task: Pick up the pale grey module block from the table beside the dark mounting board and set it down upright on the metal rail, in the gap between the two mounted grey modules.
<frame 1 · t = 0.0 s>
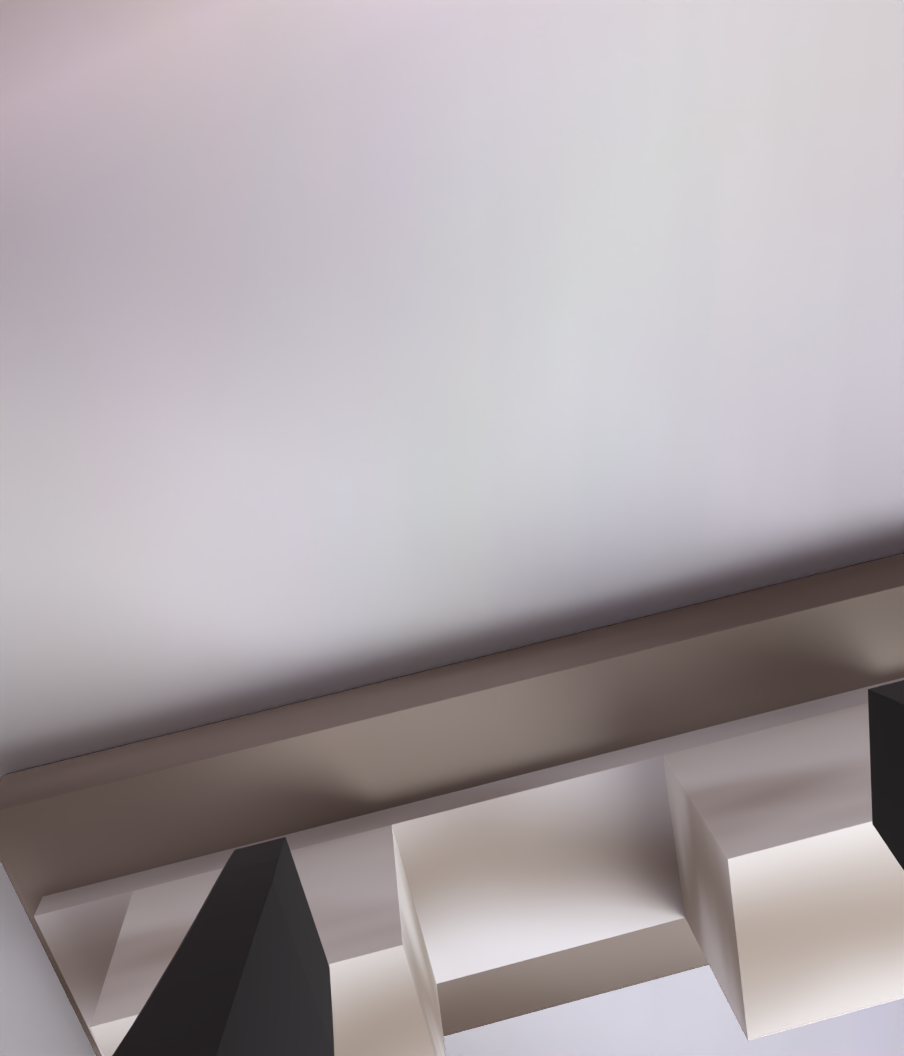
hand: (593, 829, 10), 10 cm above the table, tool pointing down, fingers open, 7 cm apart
rail board: (527, 817, 22), on the table
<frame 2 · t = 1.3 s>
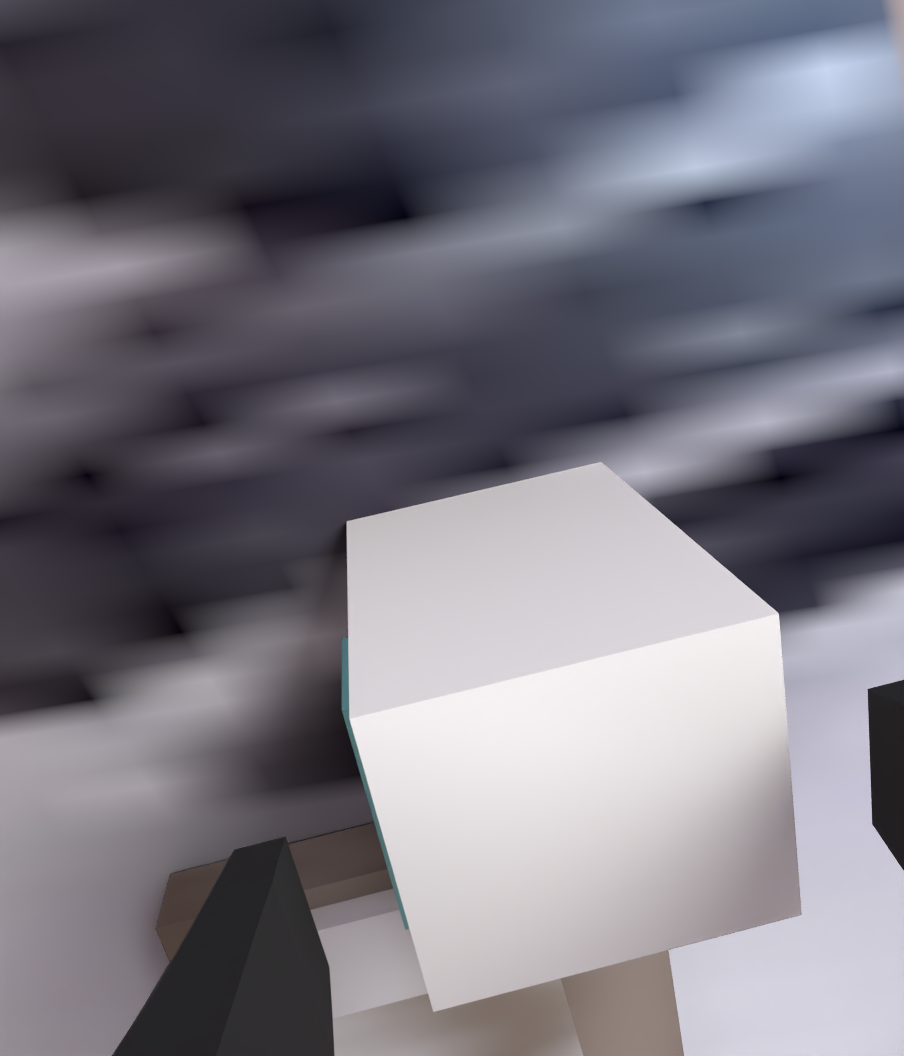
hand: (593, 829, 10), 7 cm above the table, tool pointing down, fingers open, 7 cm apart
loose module: (496, 596, 17), on the table
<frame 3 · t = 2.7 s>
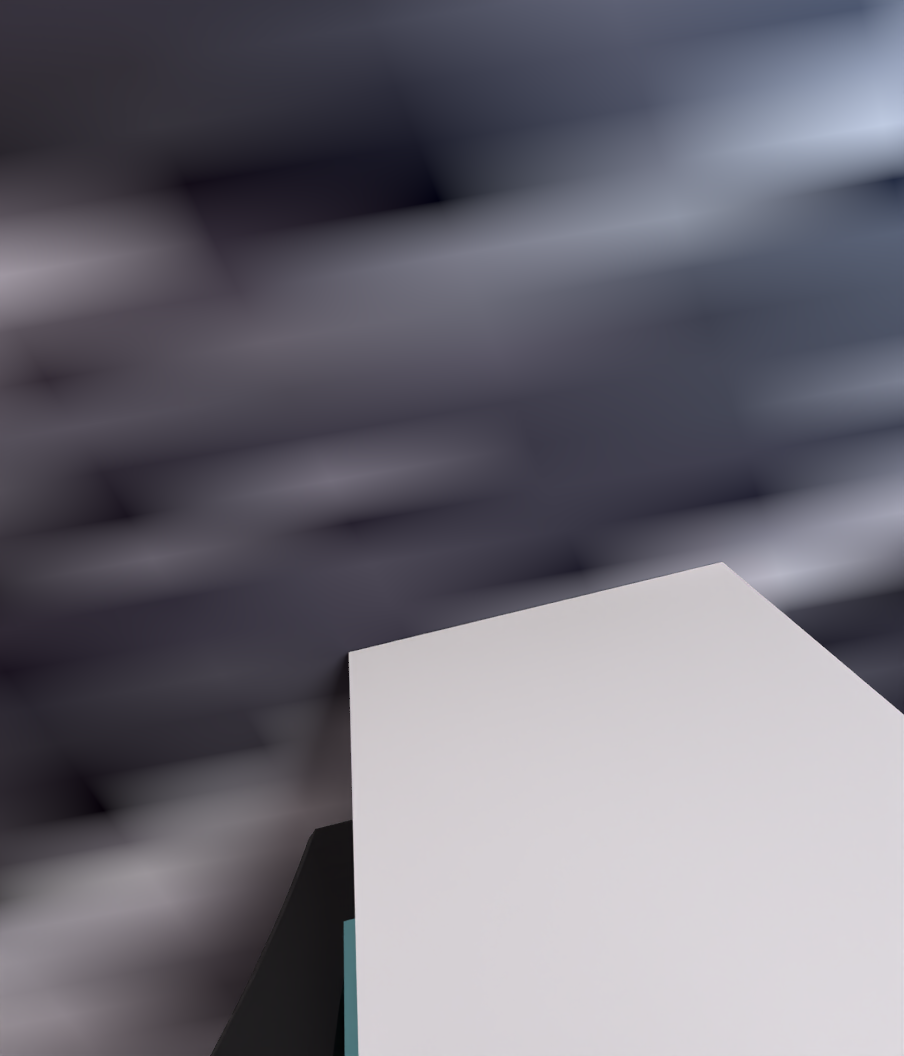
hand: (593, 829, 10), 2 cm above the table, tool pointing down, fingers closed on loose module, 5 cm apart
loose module: (564, 750, 12), on the table, touching gripper
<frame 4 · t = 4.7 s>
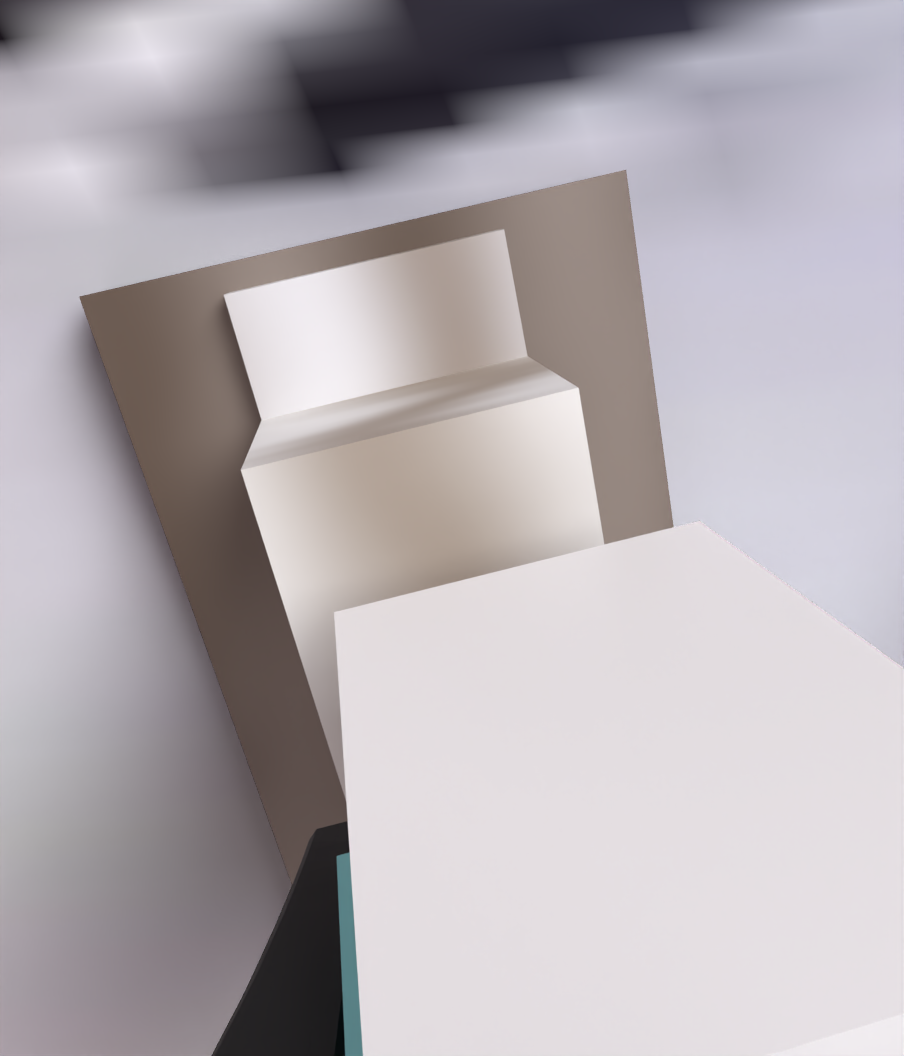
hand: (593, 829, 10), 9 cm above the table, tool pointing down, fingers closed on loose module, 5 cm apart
rail board: (479, 741, 21), on the table
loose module: (546, 709, 12), point 7 cm above the table, touching gripper
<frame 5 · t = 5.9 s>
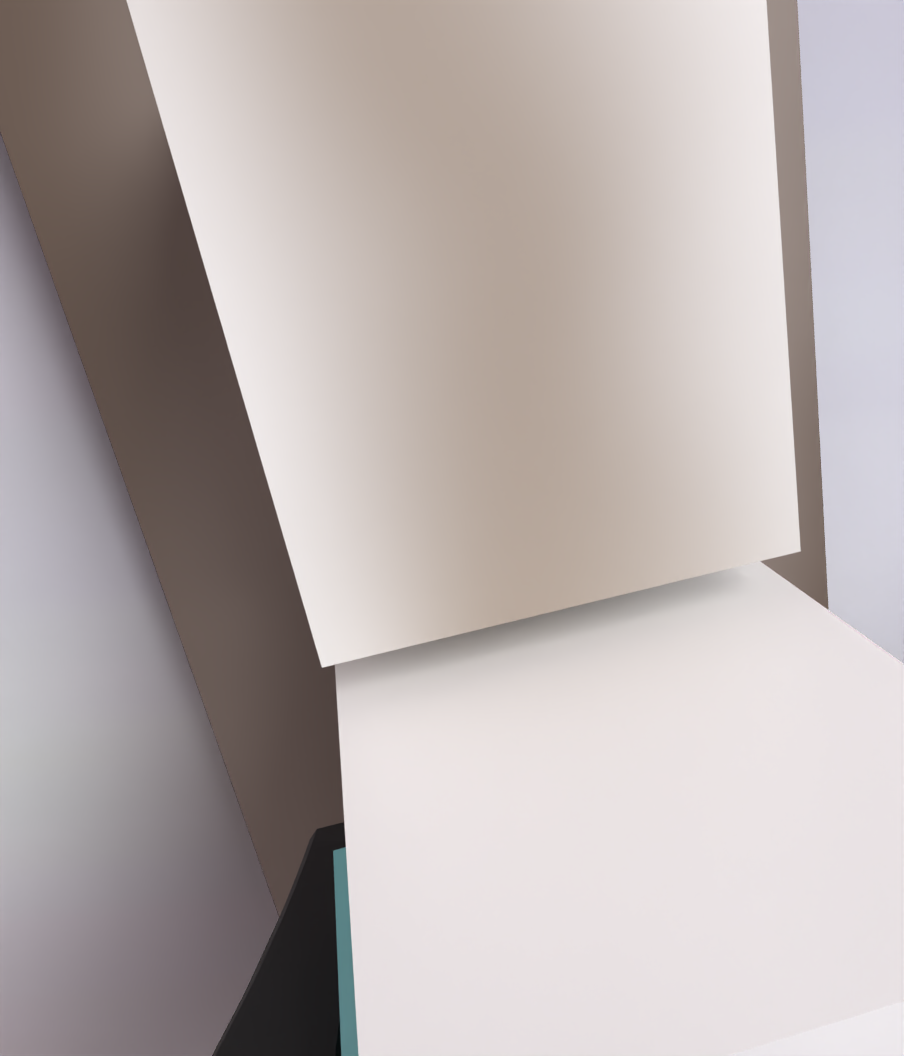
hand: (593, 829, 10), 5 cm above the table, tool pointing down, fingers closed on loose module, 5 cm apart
rail board: (513, 640, 15), on the table
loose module: (544, 705, 12), point 3 cm above the table, touching gripper
when the fingers open (5 cm above the table, at t = 6.8 s): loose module stays where it is, resting on rail board.
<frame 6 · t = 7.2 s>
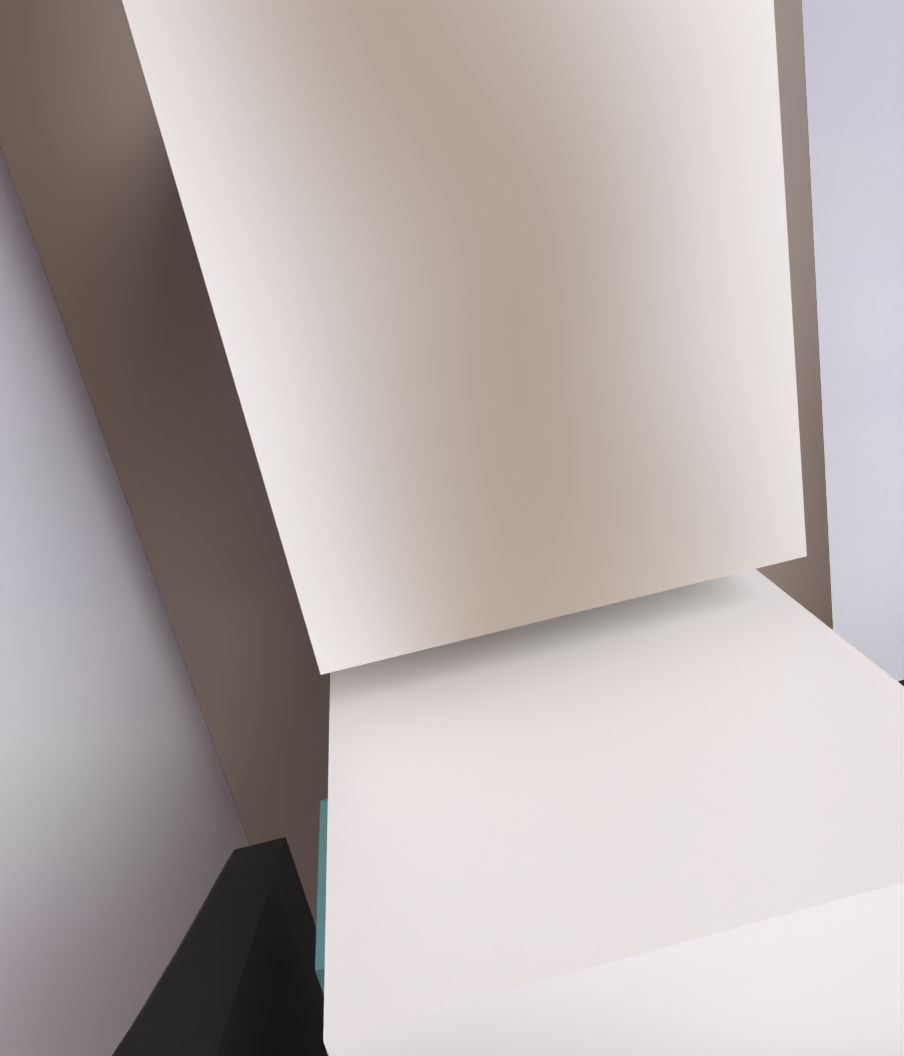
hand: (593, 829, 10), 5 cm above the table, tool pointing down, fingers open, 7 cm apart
rail board: (513, 644, 15), on the table
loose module: (533, 683, 13), point 2 cm above the table, touching rail board
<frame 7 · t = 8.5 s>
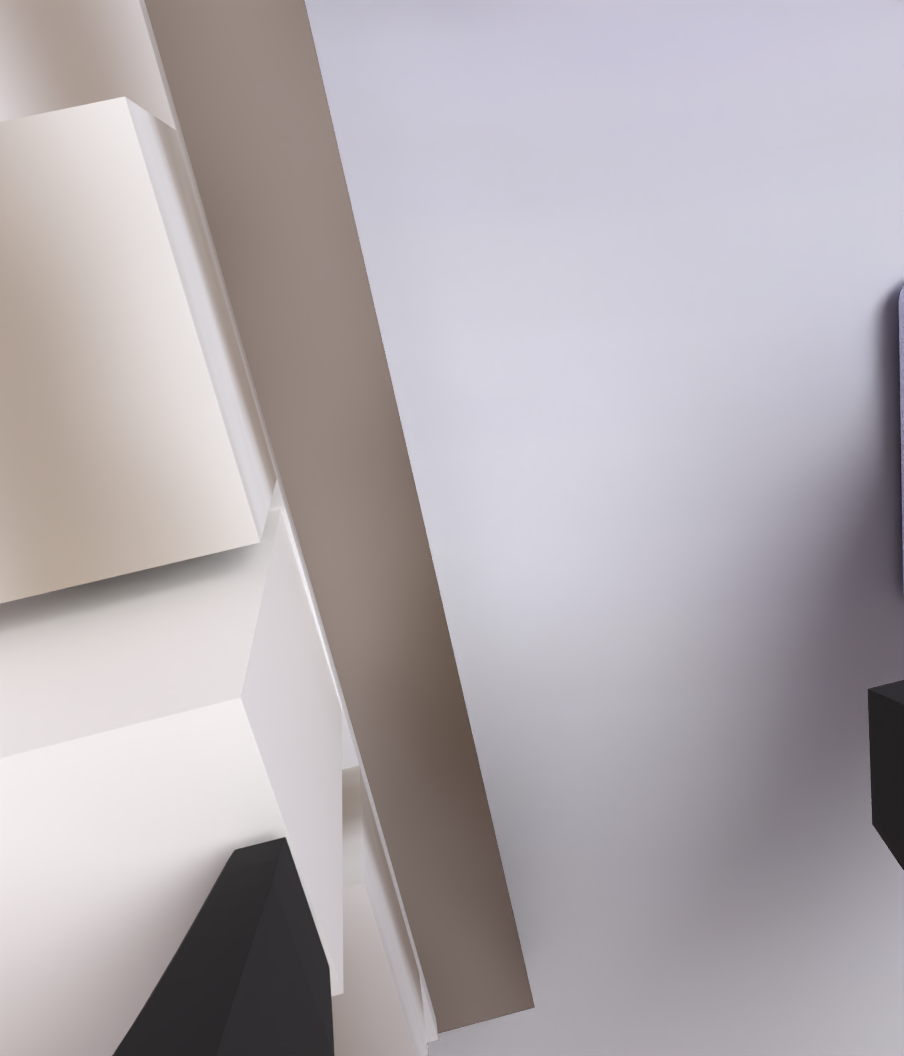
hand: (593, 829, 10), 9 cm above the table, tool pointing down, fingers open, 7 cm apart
rail board: (212, 616, 19), on the table
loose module: (188, 643, 16), point 2 cm above the table, touching rail board
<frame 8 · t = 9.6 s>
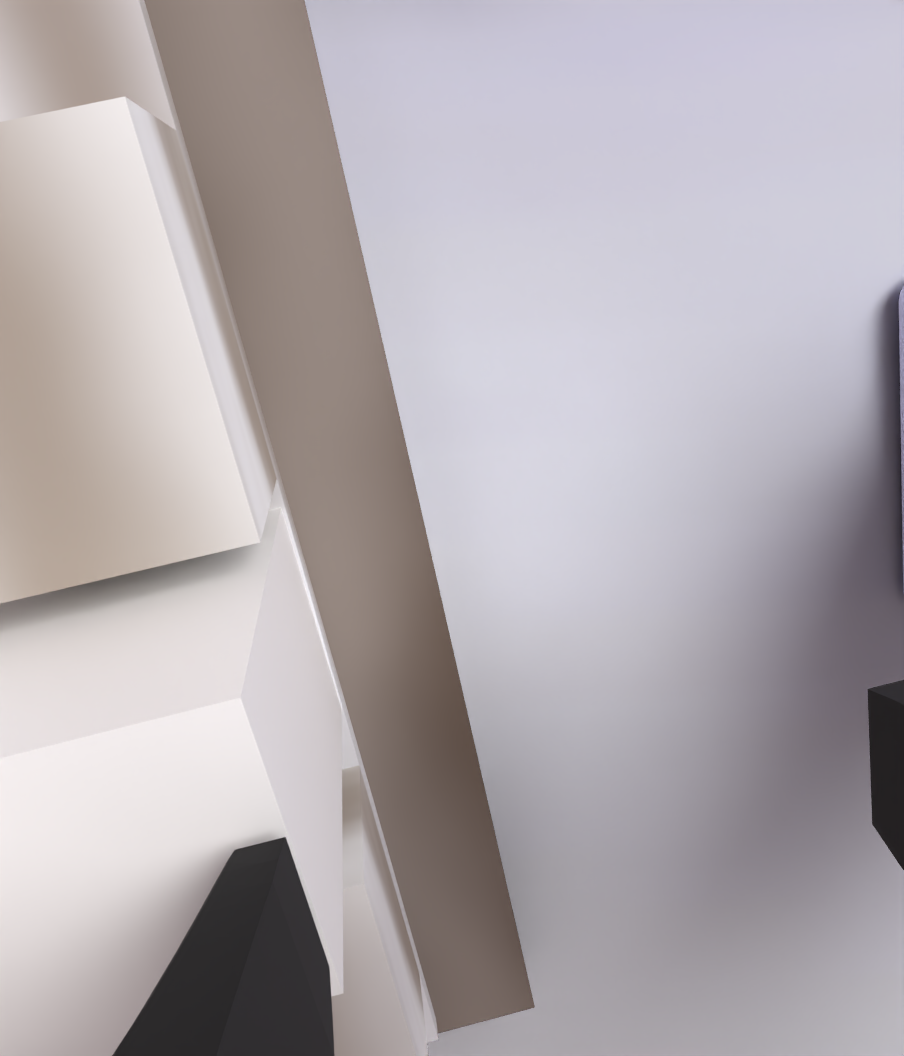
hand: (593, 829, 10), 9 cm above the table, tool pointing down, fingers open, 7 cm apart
rail board: (212, 616, 19), on the table
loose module: (188, 643, 16), point 2 cm above the table, touching rail board
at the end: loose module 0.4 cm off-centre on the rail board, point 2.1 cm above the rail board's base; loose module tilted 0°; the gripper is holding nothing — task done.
